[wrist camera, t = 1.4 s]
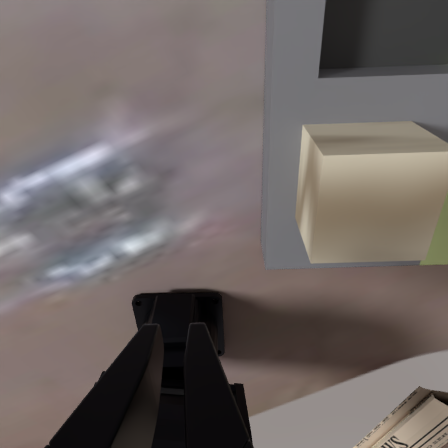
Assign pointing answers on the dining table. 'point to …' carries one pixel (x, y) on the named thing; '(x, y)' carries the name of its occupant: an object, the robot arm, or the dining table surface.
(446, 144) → the maple block
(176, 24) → the dining table surface
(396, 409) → the newspaper
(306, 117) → the trap deck
